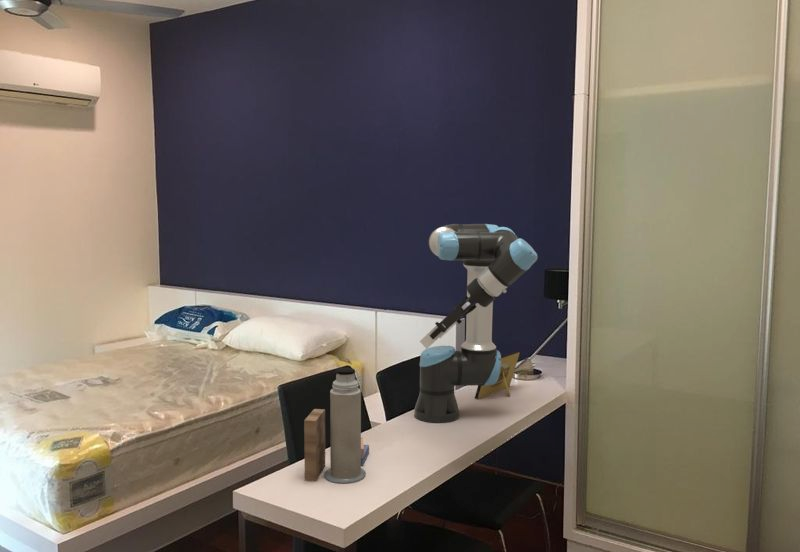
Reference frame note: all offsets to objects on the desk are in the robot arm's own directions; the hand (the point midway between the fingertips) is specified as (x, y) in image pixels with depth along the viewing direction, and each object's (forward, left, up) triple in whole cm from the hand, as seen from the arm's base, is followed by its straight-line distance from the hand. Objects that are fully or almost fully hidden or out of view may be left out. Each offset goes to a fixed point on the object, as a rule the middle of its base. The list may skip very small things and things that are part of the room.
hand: (430, 339), depth 186 cm
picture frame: (-72, +21, -35) cm, 83 cm away
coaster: (+12, -21, -35) cm, 42 cm away
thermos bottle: (+12, -21, -34) cm, 42 cm away
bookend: (+12, -29, -35) cm, 47 cm away
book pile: (0, -21, -35) cm, 41 cm away
